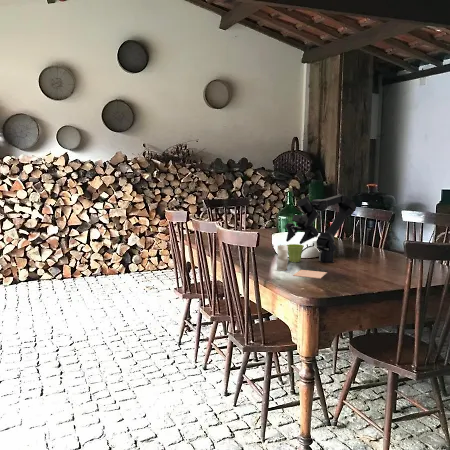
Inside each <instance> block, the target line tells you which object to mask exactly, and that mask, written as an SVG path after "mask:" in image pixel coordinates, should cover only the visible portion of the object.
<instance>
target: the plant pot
mask: <svg viewBox="0 0 450 450" xmlns="http://www.w3.org/2000/svg"><path fill="white" fill-rule="evenodd" d="M285 245H286V246H288V262H291V263H300V262H301V261H302V260H301V259H302V253H303V250H304V244H300V243H299V244H298V243H297V244H296V243H289V244H285Z"/></svg>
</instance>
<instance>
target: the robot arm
mask: <svg viewBox="0 0 450 450" xmlns="http://www.w3.org/2000/svg"><path fill="white" fill-rule="evenodd" d="M296 203H297V206H298V208H299V209H300V211H301V212H302V213H303V214H302V215H300V214H293V216H292V219H291V221H292V222H295V224H294V223H292V222H287V223H286V224H285V225H284V226H285V228H286V229H287V234H286V235H287V236H286V240H285V241H286V242H288V243H289V241H291V240H292V239H294V237H295V236H296V234H298V232H303V233H304V234H303V235H302V237H301V239H300V241H299V245H303V244H304V243H306V242H308V241H310V240H312V239H315V238H317V239H316V245H317V250H320V251H319V253H318V254H319V257H318V261H320V262H321V263H323V264H325V263H330V264H331V263H335V262H334V252H336V251H337V246H336V244H335V236H336V234H337V233H338V232H339V230H340V228H341V227H342V226H343V224H344V222H345V220H346V219H347V218H348V217H350V216H352V215H353V214H354V213H355V211H356V210H357V205H356V203H355V202H354V201H353V200H352V199H350V198H348V197H347V196H346V195H344V194H336V195H334V196H330V197H327V198H324V199H312V200H310V198H309V196H304V197H303V198H301V199H300V200H298V201H297V202H296ZM334 205H337V206H338V213H337V214H336V216H335V218H334V219H333V221H332V223H330V225H329V227H328V228H327V230H326V231H325V232H323V231H321V232H320V234H319V231H318V229H317V228H316V227H315V225H314V223H315V221H316V220H317V219H321V215H320V213H321V212H324V211H325V210H327V209H328V208H329V207H331V206H334ZM319 212H320V213H319Z"/></svg>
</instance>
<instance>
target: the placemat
mask: <svg viewBox="0 0 450 450" xmlns="http://www.w3.org/2000/svg"><path fill="white" fill-rule="evenodd" d="M327 274H328V272H325V271H318V270H317V271H315V270H308V269H300V270H299V271H297V272H296V273H294V274H293V275H292V276H293V277H302V278H311V279H319V280H320V279H322V278H323V277H324V276H325V275H327Z"/></svg>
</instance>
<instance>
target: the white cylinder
mask: <svg viewBox="0 0 450 450" xmlns="http://www.w3.org/2000/svg"><path fill="white" fill-rule="evenodd" d="M286 245H287V244H284V245H281V244H279V245H277V259H276V261H277V262H276V263H277V267H276V271H280V272H286V270H287V271H288V262H289V255H288V246H286Z"/></svg>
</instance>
